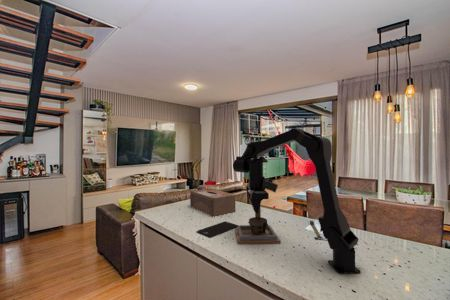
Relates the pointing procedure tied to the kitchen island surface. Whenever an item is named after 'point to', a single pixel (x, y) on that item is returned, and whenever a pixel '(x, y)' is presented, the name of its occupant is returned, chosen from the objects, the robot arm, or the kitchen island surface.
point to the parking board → (248, 232)
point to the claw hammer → (316, 232)
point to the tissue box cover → (212, 201)
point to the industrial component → (258, 223)
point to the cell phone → (217, 229)
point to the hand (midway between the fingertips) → (256, 212)
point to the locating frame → (256, 237)
